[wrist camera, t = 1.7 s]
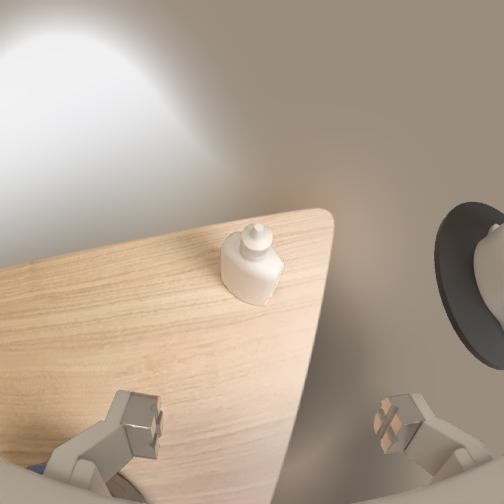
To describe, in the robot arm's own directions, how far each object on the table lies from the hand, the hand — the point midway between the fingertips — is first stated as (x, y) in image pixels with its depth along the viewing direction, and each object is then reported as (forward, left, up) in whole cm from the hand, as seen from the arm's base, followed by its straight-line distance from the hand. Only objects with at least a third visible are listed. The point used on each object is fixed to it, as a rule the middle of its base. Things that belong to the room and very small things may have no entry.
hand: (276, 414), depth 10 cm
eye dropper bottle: (+2, -12, -20) cm, 24 cm away
